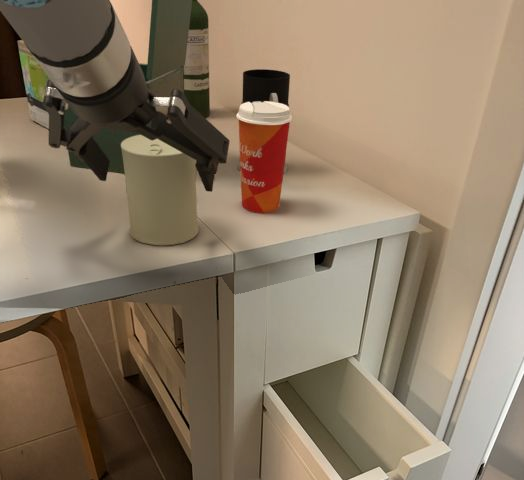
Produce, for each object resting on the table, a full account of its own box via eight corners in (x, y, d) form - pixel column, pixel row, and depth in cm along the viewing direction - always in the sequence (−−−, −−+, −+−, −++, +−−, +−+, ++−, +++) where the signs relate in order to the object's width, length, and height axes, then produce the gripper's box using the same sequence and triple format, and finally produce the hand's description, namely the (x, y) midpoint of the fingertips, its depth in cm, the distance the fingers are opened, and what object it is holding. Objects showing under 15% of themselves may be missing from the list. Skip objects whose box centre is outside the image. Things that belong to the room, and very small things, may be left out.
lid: (155, -56, 72) (162, -54, 72) (193, -55, 82) (198, -54, 82) (146, 78, 82) (151, 80, 82) (180, 63, 92) (185, 65, 92)
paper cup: (228, 198, 85) (228, 101, 76) (274, 193, 87) (280, 98, 79) (245, 218, 79) (248, 115, 71) (294, 213, 81) (302, 112, 73)
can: (124, 245, 71) (113, 150, 64) (135, 216, 78) (126, 127, 71) (196, 246, 71) (193, 152, 64) (200, 217, 79) (198, 130, 72)
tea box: (52, 132, 108) (37, 47, 99) (30, 120, 114) (14, 39, 105) (120, 121, 117) (112, 41, 108) (96, 110, 122) (86, 34, 113)
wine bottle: (196, 121, 119) (191, -51, 101) (166, 115, 122) (157, -53, 104) (216, 113, 125) (215, -51, 107) (188, 108, 128) (182, -53, 110)
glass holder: (282, 159, 101) (288, 68, 92) (298, 188, 90) (306, 88, 81) (234, 160, 100) (235, 68, 91) (245, 189, 88) (247, 87, 79)
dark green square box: (70, 166, 93) (54, 73, 85) (108, 143, 104) (98, 59, 96) (156, 178, 91) (149, 83, 82) (186, 153, 101) (182, 67, 93)
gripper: (-53, 90, 49) (56, 194, 69) (225, 114, 46) (251, 214, 67) (-35, 14, 50) (67, 139, 70) (238, 32, 47) (260, 156, 68)
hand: (157, 176), depth 69 cm, fingers open, 13 cm apart
